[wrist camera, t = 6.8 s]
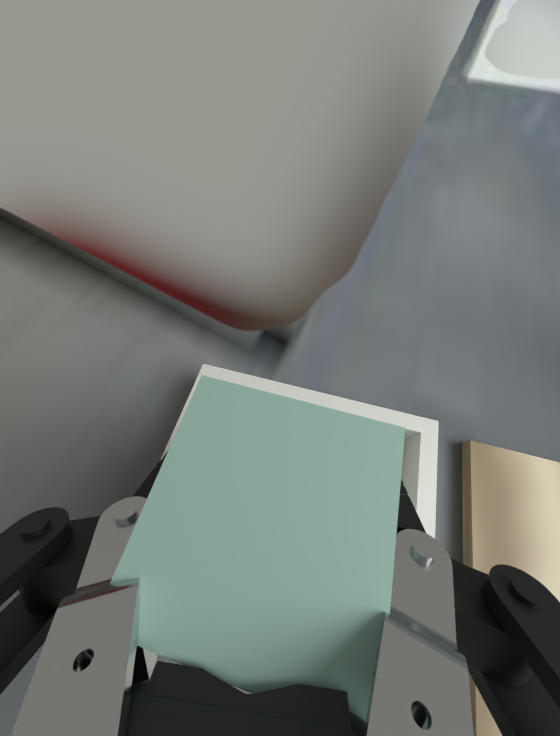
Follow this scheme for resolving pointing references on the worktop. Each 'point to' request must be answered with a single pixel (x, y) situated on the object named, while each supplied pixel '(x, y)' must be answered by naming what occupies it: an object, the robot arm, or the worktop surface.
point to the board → (509, 527)
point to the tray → (418, 430)
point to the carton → (270, 542)
